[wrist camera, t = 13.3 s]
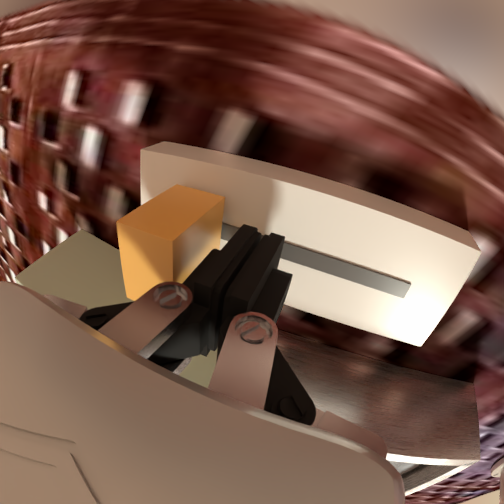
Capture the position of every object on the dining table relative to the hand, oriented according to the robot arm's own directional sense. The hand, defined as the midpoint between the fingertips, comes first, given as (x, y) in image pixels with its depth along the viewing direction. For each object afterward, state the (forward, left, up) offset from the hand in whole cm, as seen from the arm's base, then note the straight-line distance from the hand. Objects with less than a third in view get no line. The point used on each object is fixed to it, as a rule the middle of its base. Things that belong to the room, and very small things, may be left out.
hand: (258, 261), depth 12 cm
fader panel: (-1, 0, -4) cm, 4 cm away
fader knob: (+3, 0, -1) cm, 4 cm away
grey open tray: (-9, +15, -4) cm, 18 cm away
